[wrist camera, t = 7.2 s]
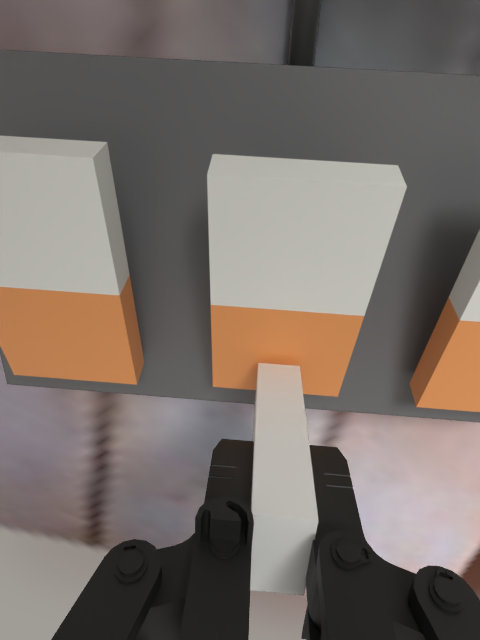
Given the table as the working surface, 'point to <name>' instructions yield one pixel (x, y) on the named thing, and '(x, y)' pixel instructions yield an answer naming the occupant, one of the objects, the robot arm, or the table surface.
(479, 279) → the switch
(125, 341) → the switch
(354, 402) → the power strip
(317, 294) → the switch middle
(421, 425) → the table surface
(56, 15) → the table surface
